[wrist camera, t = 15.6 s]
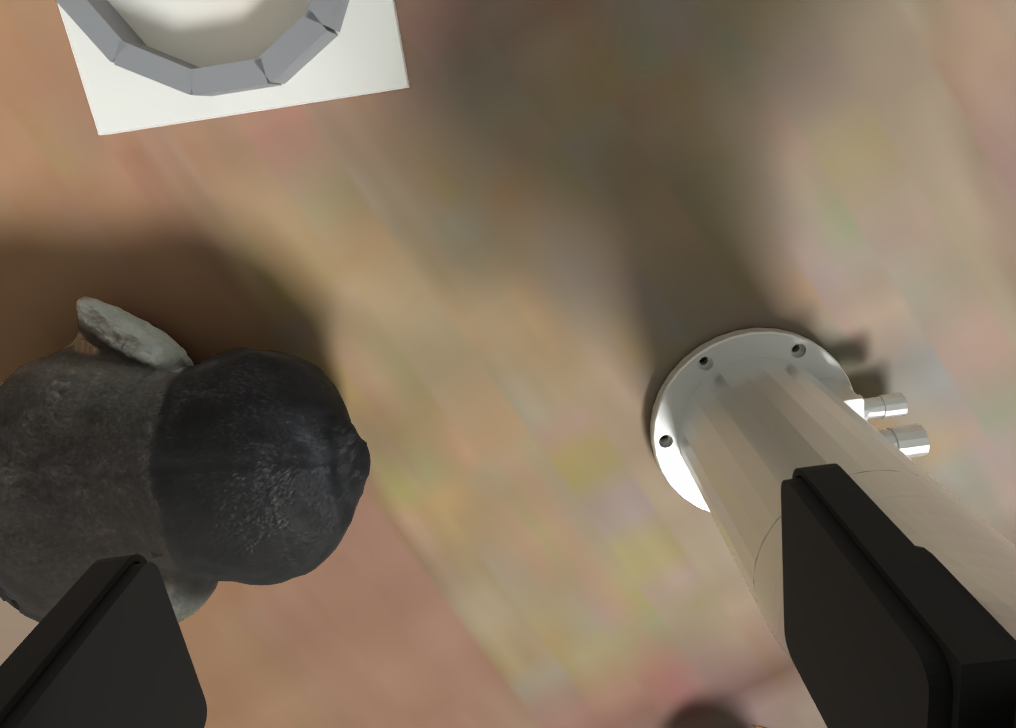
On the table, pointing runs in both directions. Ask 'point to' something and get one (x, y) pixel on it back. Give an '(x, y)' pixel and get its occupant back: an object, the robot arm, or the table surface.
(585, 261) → the table surface
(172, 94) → the ring stand
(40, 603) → the dark grey rounded piece
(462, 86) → the table surface
